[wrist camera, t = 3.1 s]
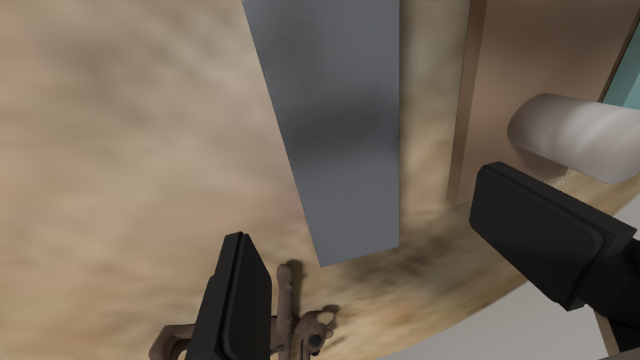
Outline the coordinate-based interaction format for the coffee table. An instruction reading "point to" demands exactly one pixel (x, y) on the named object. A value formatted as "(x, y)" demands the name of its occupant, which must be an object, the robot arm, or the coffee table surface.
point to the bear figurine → (282, 328)
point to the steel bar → (336, 114)
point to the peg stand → (543, 92)
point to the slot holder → (627, 78)
